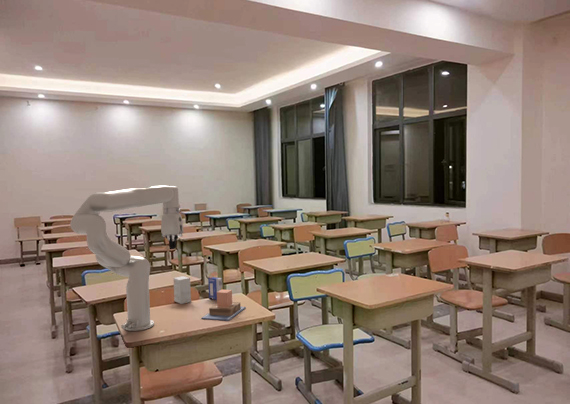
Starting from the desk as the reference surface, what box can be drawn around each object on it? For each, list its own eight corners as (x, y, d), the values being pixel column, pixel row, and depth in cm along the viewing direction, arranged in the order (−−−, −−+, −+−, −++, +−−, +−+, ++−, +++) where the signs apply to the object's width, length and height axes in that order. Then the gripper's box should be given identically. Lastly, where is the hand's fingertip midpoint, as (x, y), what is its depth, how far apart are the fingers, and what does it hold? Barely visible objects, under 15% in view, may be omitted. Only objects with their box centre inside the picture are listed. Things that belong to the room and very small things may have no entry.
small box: (191, 301, 220) (190, 278, 220) (180, 304, 216) (179, 280, 216) (184, 299, 226) (183, 275, 226) (174, 301, 222) (173, 277, 222)
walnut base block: (230, 315, 191) (230, 309, 191) (209, 314, 194) (209, 308, 194) (240, 308, 203) (240, 302, 202) (220, 307, 206) (220, 301, 206)
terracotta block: (227, 307, 195) (227, 292, 195) (217, 306, 196) (216, 292, 196) (232, 303, 200) (231, 289, 200) (222, 303, 202) (221, 289, 202)
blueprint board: (228, 320, 186) (228, 319, 186) (201, 318, 190) (201, 317, 190) (245, 308, 205) (245, 306, 205) (220, 306, 209) (220, 305, 209)
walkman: (209, 298, 225) (208, 277, 224) (212, 297, 227) (211, 276, 227) (219, 300, 221) (218, 278, 220) (223, 299, 223) (222, 277, 223)
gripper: (188, 210, 199) (190, 247, 200) (162, 211, 204) (163, 247, 204) (180, 211, 192) (182, 250, 193) (153, 212, 197) (155, 249, 197)
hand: (172, 248), depth 199 cm, fingers closed
